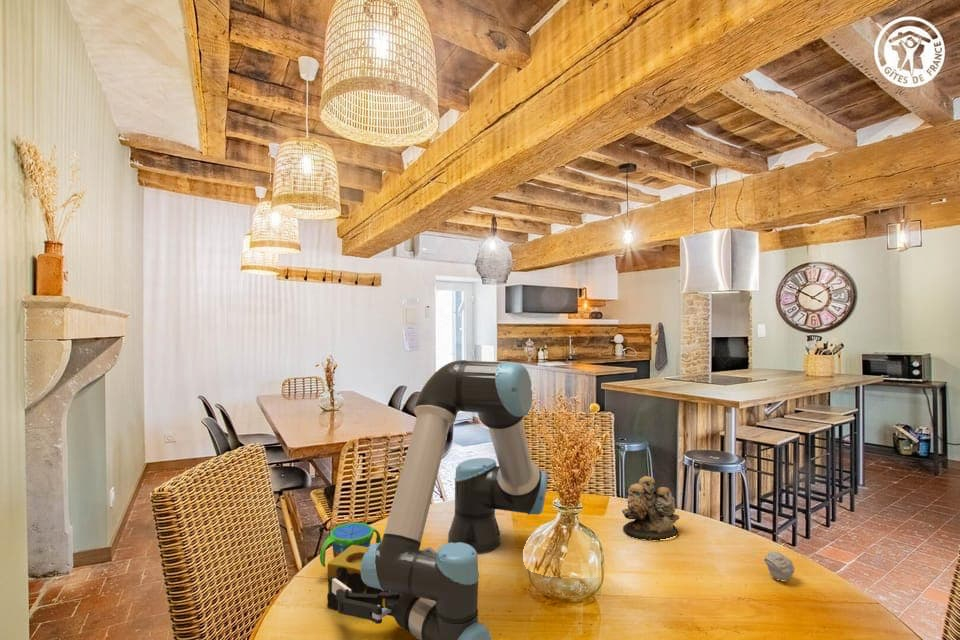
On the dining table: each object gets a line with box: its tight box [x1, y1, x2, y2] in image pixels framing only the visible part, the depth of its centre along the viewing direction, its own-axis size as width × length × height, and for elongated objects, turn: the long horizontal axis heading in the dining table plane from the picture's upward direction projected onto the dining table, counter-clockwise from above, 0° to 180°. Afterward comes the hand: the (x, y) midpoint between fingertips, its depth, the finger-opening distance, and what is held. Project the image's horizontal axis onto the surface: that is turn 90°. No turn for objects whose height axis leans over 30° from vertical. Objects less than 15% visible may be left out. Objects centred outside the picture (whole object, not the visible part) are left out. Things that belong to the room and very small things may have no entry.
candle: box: [326, 545, 390, 611], centre depth 108 cm, size 10×10×10 cm
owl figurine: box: [621, 475, 680, 541], centre depth 146 cm, size 18×12×17 cm, turn 101°
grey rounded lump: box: [763, 550, 795, 581], centre depth 119 cm, size 6×7×7 cm
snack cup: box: [319, 522, 382, 568], centre depth 120 cm, size 16×11×10 cm
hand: (360, 573), depth 107 cm, fingers open, 13 cm apart
